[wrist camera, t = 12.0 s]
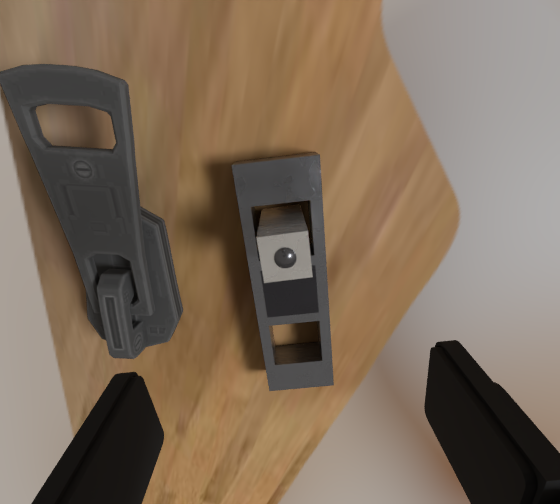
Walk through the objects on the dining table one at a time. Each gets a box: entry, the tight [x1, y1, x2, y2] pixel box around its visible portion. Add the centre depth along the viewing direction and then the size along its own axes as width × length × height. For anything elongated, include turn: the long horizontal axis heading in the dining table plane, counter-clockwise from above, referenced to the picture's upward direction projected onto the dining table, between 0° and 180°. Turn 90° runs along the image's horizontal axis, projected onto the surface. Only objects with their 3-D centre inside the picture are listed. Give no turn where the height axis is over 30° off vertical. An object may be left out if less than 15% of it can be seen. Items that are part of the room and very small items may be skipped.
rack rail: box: [232, 152, 334, 391], centre depth 30 cm, size 24×7×3 cm, turn 6°
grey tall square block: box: [256, 204, 313, 283], centre depth 25 cm, size 4×4×8 cm
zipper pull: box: [0, 64, 183, 359], centre depth 26 cm, size 9×7×25 cm
